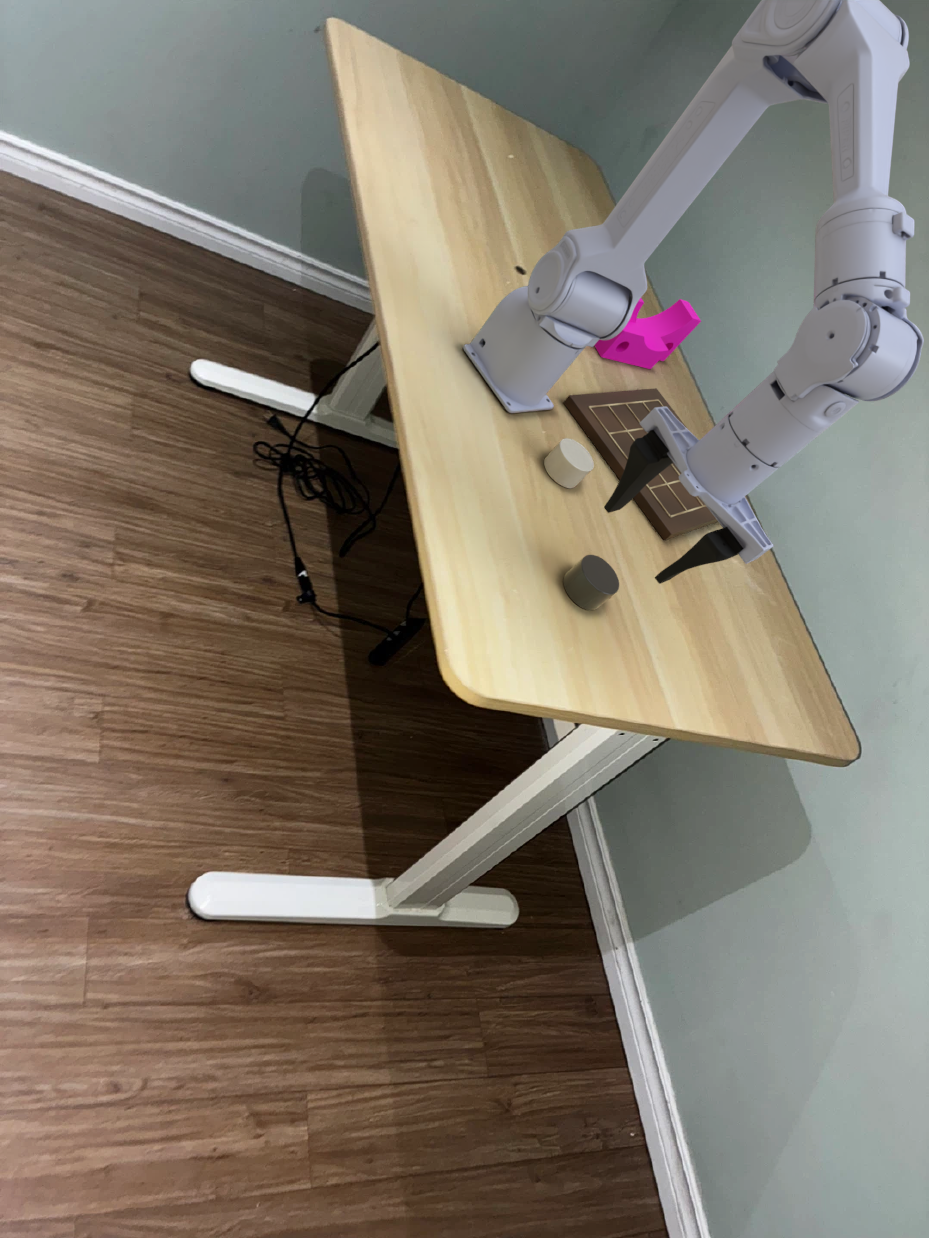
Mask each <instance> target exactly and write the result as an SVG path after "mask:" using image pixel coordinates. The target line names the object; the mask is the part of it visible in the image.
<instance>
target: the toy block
mask: <svg viewBox="0 0 929 1238" xmlns="http://www.w3.org/2000/svg"><path fill="white" fill-rule="evenodd" d="M644 305H645V302H644V300H643V298H642V297H641V298H640V299H639V301H638V303H637V304H636V306H635V308H634V310H633V313H632V316H631V318H630V320H629V322H628V323H627V325H626V326H625V328H624V329H623V330H622V331H621V332H620V333H619V334H618V335H617V336H615V337H614V338H612V339H610V340H598V342H597V343H596V344H595V345H594V346H593V347H595V349H596V351H597V353H598V355H599V356H600V358H603V359H606V360H611V361H614V362H615V361H616V362H619V363H624V364H628V365H631V366H636V367H640V368H644V369H648V370H652V368H654V367H655V366H656V364H657V363H658V362H659V361H660V362H664V361H666V359H668V357H669V356H670V355H672V353H673V352H674V351H675V350H676V349H677V348H678V347H679V346H680V345H681V344H682V342H683V341H685V340H686V338H687V337H688V336H689V335H690V334H691V333H692V332H693V331H694V330H695V329H696V328H697V326H698V325H699V324H700V323H701V322H702V320H701V318H700V317H699V315H698V314H697V312H696V311H695V309H694V308H693V306H692V305H691V303H690V302H689V301H687V300H684V299H681V298H679V299H677V301H676V302H674V303H673V304H672V305H670V307H668V308H667V309H664V310H663V311H661V312H659V313H656V314H655V315H652V316H649V317H641V318H640V317H639V318H638V315H639V312H640V310H641V309H642V307H643V306H644Z"/></svg>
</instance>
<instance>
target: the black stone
mask: <svg viewBox="0 0 929 1238" xmlns="http://www.w3.org/2000/svg"><path fill="white" fill-rule="evenodd" d="M562 580H563V581H562V582H563V587H564V591H565V592H566V594H567V595H568V597H569V598H570V600H571V601H572V602H574V603H575V604H576V605H577V606H578V607H579V608H581V609H584V610H586V611H595V610H597V609H599V608H600V607H601V606H602V605H603V604H605V603H606V602H607V601H608V600H610V599H611V598H612V597H613V596H614V595H615V594H617V593H618V591H619V588H620V581H619V577H618V575H617V573H616V571H615V569H614V568H613V567H612V566H611V564H609V563H608V562H607V561H606V560H605V559H603V558H602V557H600V556H597V555H595V554H587V555H584V556H583V557H582V558H581V559H580V560H579V561H577V562H576V563H575V565H573V566H572V567H571V568H570V569H569V570H568V571H567V572H566V573H565V574H564V575H563V579H562Z"/></svg>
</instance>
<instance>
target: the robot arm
mask: <svg viewBox="0 0 929 1238" xmlns="http://www.w3.org/2000/svg"><path fill="white" fill-rule="evenodd" d="M909 32H910V31H909V27H908V25H907V22H905V20H904V19H903V18H902V17H901V16H900V15H898V14H896V13H893V12H892V11H891V10H890V9H889V8H888V7H887V6H886V5H885V4H884V3H883V2H882V1H881V0H760V1H759V3H757V5H756V7H755V8H754V9H753V11H752V12H751V13H750V15H749V17H748V18H747V19H746V21H745V22H744V23H743V25H742V26H741V27H740V28H739V30H738V32H737V33H736V35H735V36H734V37H733V38H732V40H731V46H730V47H729V48H728V49H727V52H726V53H725V54H724V55H723V57H722V58H721V59H720V61H719V62H718V64H717V65H716V66H715V68H714V69H713V71H712V72H711V74H710V75H709V76H708V77H707V79H706V81H705V82H704V83H703V84H702V86H701V88H700V89H699V90H698V91H697V92H696V94H695V96H694V97H693V98H692V99H691V101H690V102H689V104H688V105H687V106H686V108H685V109H684V111H683V112H682V114H681V115H680V117H678V119H677V121H676V122H675V123H674V124H673V126H672V128H671V129H670V130H669V132H668V133H667V134H666V135H665V137H664V138H663V140H662V141H661V142H660V144H659V145H658V147H657V148H656V150H655V151H654V152H653V153H652V155H651V156H650V158H649V159H648V160H647V162H646V163H645V164H644V165H643V168H642V169H641V170H640V171H639V173H638V174H637V176H636V177H635V178H634V180H633V181H632V183H631V184H630V186H628V188H627V190H626V191H625V192H624V194H622V196H621V197H620V199H619V201H618V202H617V203H616V205H615V206H614V207H613V209H612V210H611V212H610V213H609V214H608V216H607V217H606V219H605V220H604V221H603V223H601V224H598V225H592V226H586V227H579V228H574V229H573V228H572V229H569V230H567V231H565V233H564V234H563V236H562V237H561V238H560V240H559V241H558V242H557V243H556V244H555V246H553V247H552V248H551V249H550V250H548V251H547V252H546V253H544V254H543V255H542V256H541V257H540V258H539V259H538V260H537V262H536V263H535V265H534V267H533V269H532V271H531V273H530V275H529V279H528V283H527V285H523V286H521V287H518V288H515V289H513V290H512V291H511V292H509V293H508V294H507V295H505V296H504V297H503V298H502V299H501V300H500V301H499V302H498V304H497V305H496V306H495V307H494V309H493V310H492V312H491V313H490V315H489V316H488V318H487V319H486V321H484V323H483V324H482V326H481V328H480V329H479V330H478V332H477V333H476V335H475V336H474V338H473V339H472V340H471V341H470V343H466V344H464V345H463V346H462V350H463V351H464V352H465V354H466V355H467V356H468V358H469V359H470V362H471V363H472V364H473V365H474V367H475V368H476V369H477V371H478V372H479V374H480V375H481V376H482V378H483V379H484V380H485V382H486V383H487V386H488V387H489V388H490V389H491V390H492V392H493V393H494V395H495V396H496V398H497V399H498V400H499V402H500V403H501V405H502V406H503V407H504V409H505V410H506V411H507V412H508V413H510V414H516V413H517V414H518V413H527V412H536V411H537V412H538V411H547V410H553V408H554V402H552V400H551V399H550V397H549V396H548V393H549V392H550V390H552V388H553V386H554V385H555V384H556V383H557V382H558V381H559V380H560V378H561V377H562V375H564V373H565V372H566V371H567V370H568V369H569V367H570V366H572V364H573V363H574V362H575V361H576V359H577V358H578V357H579V356H580V355H581V353H582V352H583V351H584V349H586V347H590V348H594V347H595V346H594V345H595V344H596V343H597V342H598V340H610V339H612V338H614V337H615V336H617V335H618V334H619V333H620V332H621V331H622V330H623V329H624V328H625V326H626V325H627V323H628V322H629V320H630V318H631V316H632V313H633V310H634V308H635V306H636V304H637V303H638V301H639V299H640V298H642V297H643V296H644V294H645V293H646V292H647V290H648V279H647V274H646V269H645V263H646V262H647V261H648V259H649V258H650V257H651V256H652V254H653V253H654V252H655V250H656V249H657V248H658V247H659V245H660V244H661V243H662V241H663V240H664V239H665V238H666V236H667V235H668V234H669V233H670V231H671V230H672V229H673V227H675V225H676V224H677V223H678V222H679V220H680V219H681V217H682V216H683V215H684V214H685V212H686V211H687V210H688V209H689V207H690V206H691V204H693V202H694V201H695V200H696V198H697V197H698V196H700V194H701V192H702V191H703V190H704V188H705V187H706V186H707V184H708V183H709V182H710V181H711V179H712V178H713V177H714V176H715V174H716V173H717V172H718V171H719V169H720V168H721V167H722V166H723V164H724V163H725V162H726V161H727V159H728V158H729V157H730V156H731V154H732V153H733V152H734V151H735V149H736V148H737V147H738V146H739V144H740V143H741V142H742V140H743V139H744V138H745V136H746V135H748V133H749V131H750V130H751V129H752V127H754V125H755V124H756V123H757V122H758V120H759V119H760V118H761V117H762V115H763V114H764V113H765V112H766V110H767V109H768V108H769V107H771V106H774V105H779V104H785V103H789V102H795V101H800V100H805V101H810V102H815V103H821V104H825V105H828V117H829V120H828V121H829V136H830V137H829V139H830V157H831V159H830V160H831V176H832V177H831V178H832V180H831V181H832V199H833V204H832V205H831V206H830V207H828V208H827V210H826V211H825V212H823V214H822V215H821V216H820V218H819V219H818V221H817V223H816V225H815V230H814V232H815V234H814V271H813V273H814V274H813V275H814V277H813V308H811V310H810V311H809V312H808V313H807V315H806V316H805V317H804V318H803V320H802V321H801V323H800V325H799V327H798V329H797V332H796V334H795V337H794V340H793V342H792V344H791V346H790V348H789V349H788V350H787V351H786V353H784V354H783V355H782V356H781V357H780V358H779V359H778V360H777V361H776V363H777V365H776V366H775V367H774V369H773V371H772V372H771V373H770V374H769V375H768V376H766V378H765V379H763V380H762V381H761V382H760V383H759V384H758V385H757V386H756V387H755V388H754V389H753V390H751V391H750V393H748V394H747V395H746V396H745V397H744V398H743V399H742V400H741V401H739V403H738V404H736V406H734V407H733V408H732V409H731V410H729V412H728V413H727V414H726V415H724V417H723V418H721V419H720V420H719V421H718V422H717V423H716V424H715V425H714V426H712V427H711V429H710V430H709V431H707V432H706V434H704V435H703V436H702V437H701V438H700V439H699V438H698V437H697V436H696V435H695V434H694V433H692V432H691V431H690V430H689V429H688V427H687V426H686V425H685V424H684V425H685V426H686V427H687V428H686V427H685V426H684V425H683V424H682V423H681V422H680V421H679V420H678V419H677V418H676V417H675V416H674V415H673V414H672V412H671V411H670V410H669V409H668V407H667V406H664V407H655V408H654V409H653V410H652V411H651V412H650V413H649V414H648V415H647V416H646V417H645V418H644V419H643V420H642V421H641V422H640V425H641V426H642V428H643V429H644V430H645V431H646V432H647V434H646V435H644V436H643V437H642V438H637V439H636V440H635V441H634V442H633V443H632V445H631V447H630V452H629V456H628V460H627V463H626V466H625V469H624V472H623V474H622V477H621V479H619V481H618V483H617V485H616V487H615V488H614V490H613V492H612V494H611V496H610V497H609V499H608V500H607V502H606V503H605V504H604V507H603V508H604V510H605V511H606V513H607V514H610V513H613V512H617V511H620V510H622V509H624V507H625V506H627V505H628V504H629V503H630V502H631V501H632V500H634V499H633V498H634V497H635V496H636V495H637V494H638V493H639V492H640V491H641V490H642V489H643V487H644V486H645V485H647V484H648V483H649V482H650V481H651V480H652V479H653V478H655V477H656V476H657V475H658V474H659V473H661V472H662V471H663V470H664V469H666V468H667V467H668V466H669V465H671V464H672V463H674V464H675V465H676V467H677V468H678V469H679V471H680V472H681V474H680V475H679V480H680V482H681V483H682V484H683V486H684V487H685V488H686V490H687V491H688V492H689V493H690V494H691V495H692V496H698V497H699V498H700V499H701V500H702V501H703V502H704V504H705V505H706V506H707V508H708V509H709V510H710V511H711V513H712V514H713V515H714V517H715V518H716V519H717V521H718V522H717V523H719V525H720V526H721V527H722V528H718V529H715V530H712V531H710V532H707V533H706V534H704V535H703V536H702V537H701V538H700V539H699V540H698V541H696V543H695V544H694V545H693V546H692V547H690V548H689V549H688V550H687V551H686V552H685V553H684V554H683V555H682V556H681V557H680V558H678V559H677V560H676V561H674V562H672V563H671V564H669V565H668V566H666V567H665V568H664V569H662V570H661V571H660V572H658V573H657V575H655V577H654V579H655V580H656V582H657V583H658V584H659V585H660V584H663V583H666V582H668V581H670V580H672V579H673V578H675V577H676V576H677V575H680V574H681V573H683V572H686V571H687V570H690V569H693V568H697V567H700V566H705V565H708V564H714V563H715V564H716V563H719V562H723V561H726V560H729V559H731V558H734V557H736V556H739V558H740V559H741V561H743V563H744V564H745V565H747V564H749V563H752V562H753V561H754V562H755V561H756V560H758V559H759V558H760V557H762V556H764V554H765V553H767V552H768V551H770V550H772V548H774V547H775V546H774V545H775V544H773V542H772V541H771V540H770V538H769V537H768V535H767V533H766V532H765V531H764V529H763V527H762V525H761V523H760V522H759V520H758V518H757V516H756V515H755V513H754V512H755V511H754V510H753V509H752V507H751V504H750V503H749V501H748V500H747V497H746V496H747V495H748V494H749V493H751V492H752V491H753V490H754V489H755V488H757V487H758V486H759V485H760V484H762V483H763V482H764V481H765V480H767V479H768V478H769V477H770V476H771V475H773V474H774V473H775V472H776V471H778V470H779V469H780V468H781V467H782V466H783V465H785V464H786V463H787V462H789V461H790V460H791V459H792V458H794V457H795V456H796V455H797V454H798V453H799V452H801V451H802V450H804V448H806V447H807V446H808V445H809V444H810V443H812V442H813V441H814V440H815V439H817V438H818V437H819V436H820V435H822V434H823V433H824V432H825V431H826V430H828V429H829V428H830V427H831V426H832V425H833V424H835V423H836V422H837V421H838V420H840V419H841V418H843V416H845V415H846V414H847V413H848V412H849V411H851V410H852V409H853V408H855V406H857V405H858V404H859V403H860V401H863V402H878V401H881V400H885V399H888V398H890V397H891V396H893V395H895V394H896V393H898V392H899V391H900V390H901V389H903V388H904V387H905V386H906V385H907V384H908V383H909V381H910V380H911V379H912V377H913V376H914V374H916V373H915V372H916V371H917V369H918V366H919V364H920V361H921V355H922V350H923V349H922V348H923V346H924V343H925V339H924V336H923V333H922V331H921V330H920V328H919V327H918V326H917V325H916V324H915V323H914V322H913V321H911V320H909V318H908V313H907V312H908V310H907V309H906V308H908V307H909V306H910V304H911V291H910V290H908V289H906V270H907V269H906V268H907V266H906V265H907V264H906V262H907V258H906V256H907V240H910V239H912V238H914V236H915V219H914V218H913V217H911V216H910V215H909V214H908V213H907V210H906V208H905V206H904V205H903V204H902V202H901V201H899V200H898V199H896V198H894V197H891V196H890V195H889V188H890V177H891V165H892V154H893V144H894V134H895V133H894V131H895V121H896V111H897V100H898V89H899V83H900V81H902V79H903V78H904V76H905V74H906V73H907V71H908V70H909V68H910V64H911V63H910V58H909V52H908V46H909V39H910V33H909Z"/></svg>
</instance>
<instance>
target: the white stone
mask: <svg viewBox="0 0 929 1238" xmlns="http://www.w3.org/2000/svg"><path fill="white" fill-rule="evenodd" d="M543 465H544V468H545V471H546V473H547V474H548V476H550V478H551V480H552V481H554V482H555V483H557V485H559V486H561V487H564V488H566V489H574V488H576V487H577V486H578V485H579V484H580V483H581V482H582V481H583V480H584V479H585V478H586V477H587V476H588V475H589V474H590V473H591V472H592V470H593V469H594V467H595V463H594V459H593V457H592V455H591V453H590V452H589V451H588V449H587V448H586V447H584V445H583V444H582V443H580V442H579V441H577V440H575V439H573V438H570V437H565V438H562V439H561V440H560V441H559V442H558V443H557V444H556V445H555V446H554V447H553V449H552V450H551V451H550V452H549V453H548V454H547V455H546V456H545V458H544V460H543Z"/></svg>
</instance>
